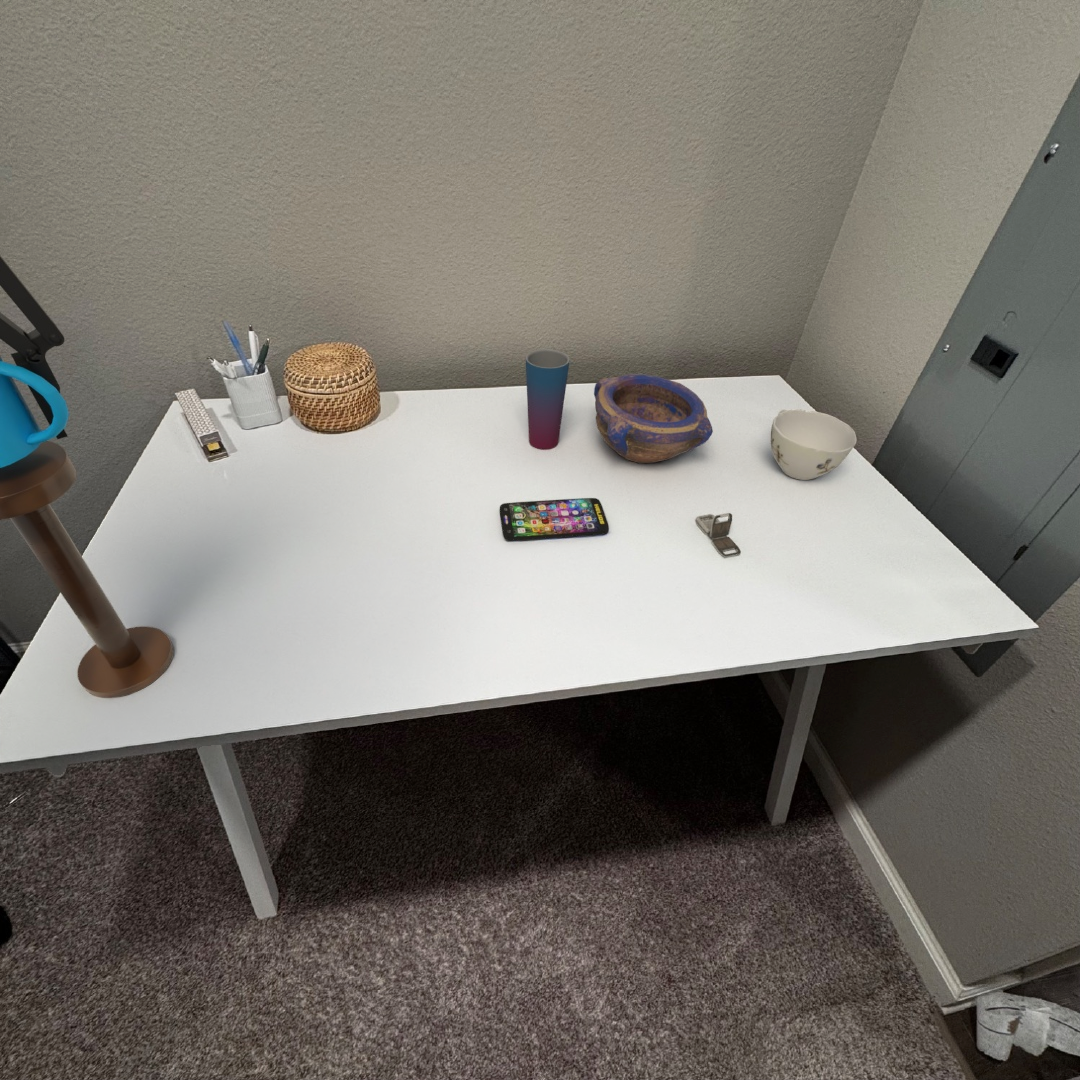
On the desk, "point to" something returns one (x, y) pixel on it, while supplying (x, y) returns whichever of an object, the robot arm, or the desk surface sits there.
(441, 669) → the desk surface
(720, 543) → the strap clip
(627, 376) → the bowl
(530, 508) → the smartphone
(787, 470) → the teacup
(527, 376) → the cup
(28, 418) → the mug
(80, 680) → the stand
